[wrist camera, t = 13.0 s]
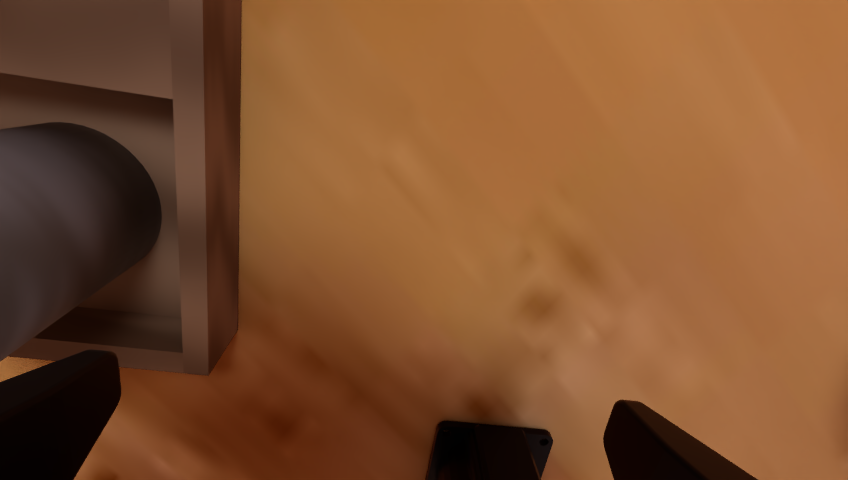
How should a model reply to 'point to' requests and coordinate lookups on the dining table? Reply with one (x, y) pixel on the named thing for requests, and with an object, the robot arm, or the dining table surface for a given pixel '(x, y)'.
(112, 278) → the cruet stand
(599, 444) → the dining table surface
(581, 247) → the dining table surface
